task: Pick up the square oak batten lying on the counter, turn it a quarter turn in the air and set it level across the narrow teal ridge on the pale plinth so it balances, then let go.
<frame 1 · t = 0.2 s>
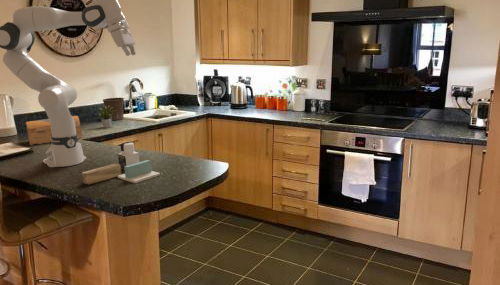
hand: (131, 55, 198), 52 cm above the worktop, tool tilted 20°, fingers open, 8 cm apart
plant pot: (115, 119, 333), on the worktop
wooden box: (55, 140, 267), on the worktop
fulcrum: (139, 176, 185), on the worktop
house plant: (106, 127, 300), on the worktop
batten: (103, 179, 184), on the worktop
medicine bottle: (129, 167, 199), on the worktop
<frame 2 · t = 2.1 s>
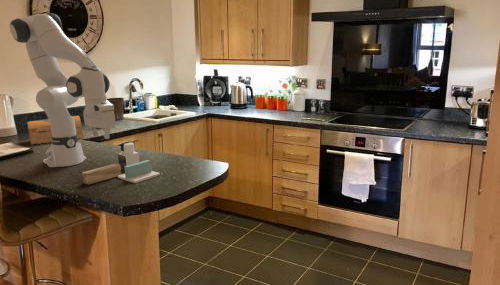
hand: (101, 137, 180), 18 cm above the worktop, tool pointing down, fingers open, 8 cm apart
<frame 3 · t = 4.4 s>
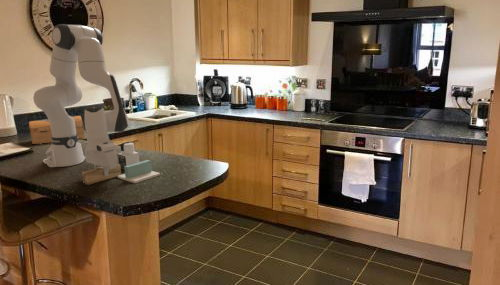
hand: (102, 174, 183), 2 cm above the worktop, tool pointing down, fingers open, 4 cm apart
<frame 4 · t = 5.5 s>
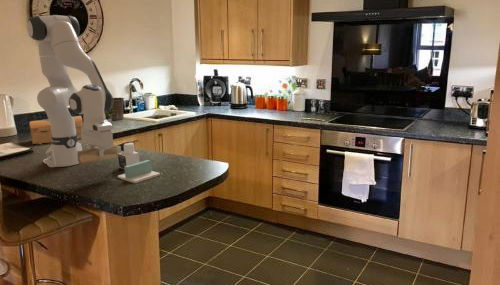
hand: (97, 155, 181), 11 cm above the worktop, tool pointing down, fingers closed on batten, 4 cm apart
batten: (98, 159, 182), point 9 cm above the worktop, touching gripper
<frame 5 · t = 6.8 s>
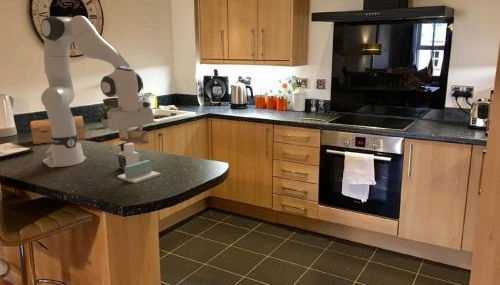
hand: (133, 137, 181), 18 cm above the worktop, tool pointing down, fingers closed on batten, 4 cm apart
batten: (134, 141, 181), point 16 cm above the worktop, touching gripper
when the fingers open (9 cm above the worktop, at t = 8.9 s): batten stays where it is, resting on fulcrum.
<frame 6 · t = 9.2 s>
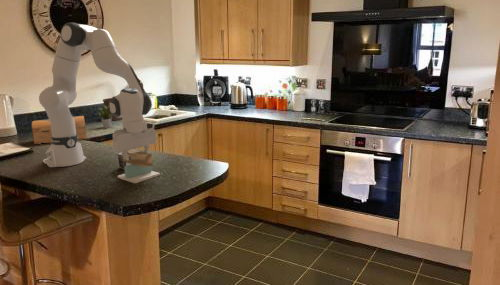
hand: (137, 157, 183), 9 cm above the worktop, tool pointing down, fingers open, 7 cm apart
batten: (137, 163, 183), point 6 cm above the worktop, touching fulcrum
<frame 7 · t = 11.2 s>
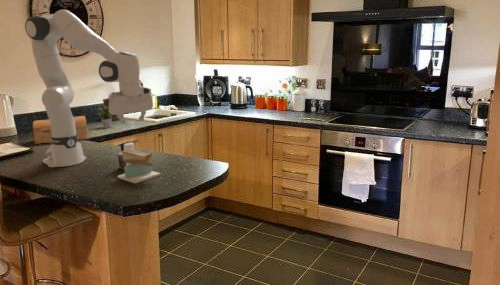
hand: (132, 122, 184), 24 cm above the worktop, tool pointing down, fingers open, 8 cm apart
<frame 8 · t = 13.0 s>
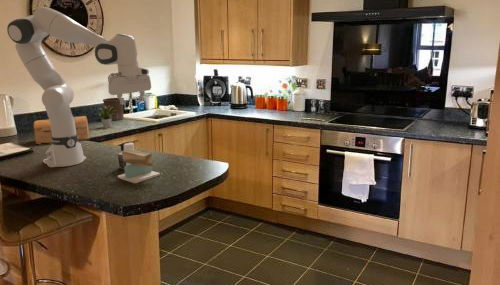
hand: (132, 102, 189), 31 cm above the worktop, tool pointing down, fingers open, 8 cm apart
at the end: batten inside the target area on the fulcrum (0.0 cm from its centre), point 6.0 cm above the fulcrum's base; batten touching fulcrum; the gripper is holding nothing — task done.
